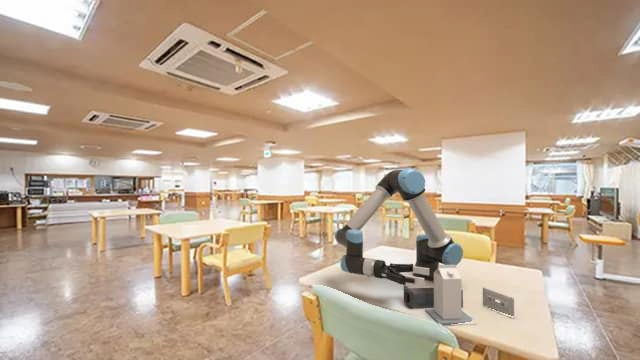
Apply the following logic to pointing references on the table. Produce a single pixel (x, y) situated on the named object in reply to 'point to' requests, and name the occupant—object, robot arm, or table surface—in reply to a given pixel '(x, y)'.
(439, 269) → the milk carton
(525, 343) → the table surface
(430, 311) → the slate mat
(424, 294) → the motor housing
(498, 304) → the cassette
